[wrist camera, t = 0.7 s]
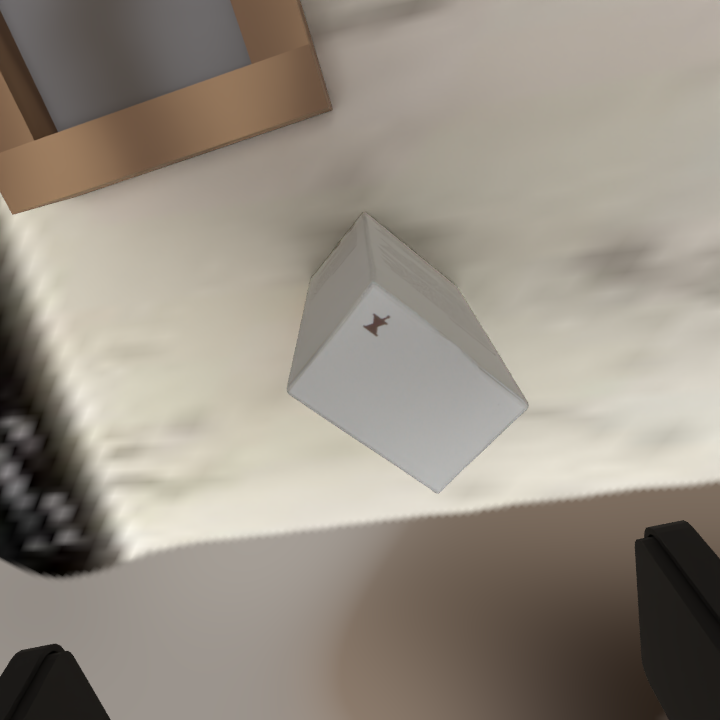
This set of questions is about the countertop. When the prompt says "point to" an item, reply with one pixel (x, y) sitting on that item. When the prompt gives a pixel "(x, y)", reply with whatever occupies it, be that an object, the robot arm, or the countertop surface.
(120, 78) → the brown wooden square frame
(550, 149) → the countertop surface
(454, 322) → the skincare box
